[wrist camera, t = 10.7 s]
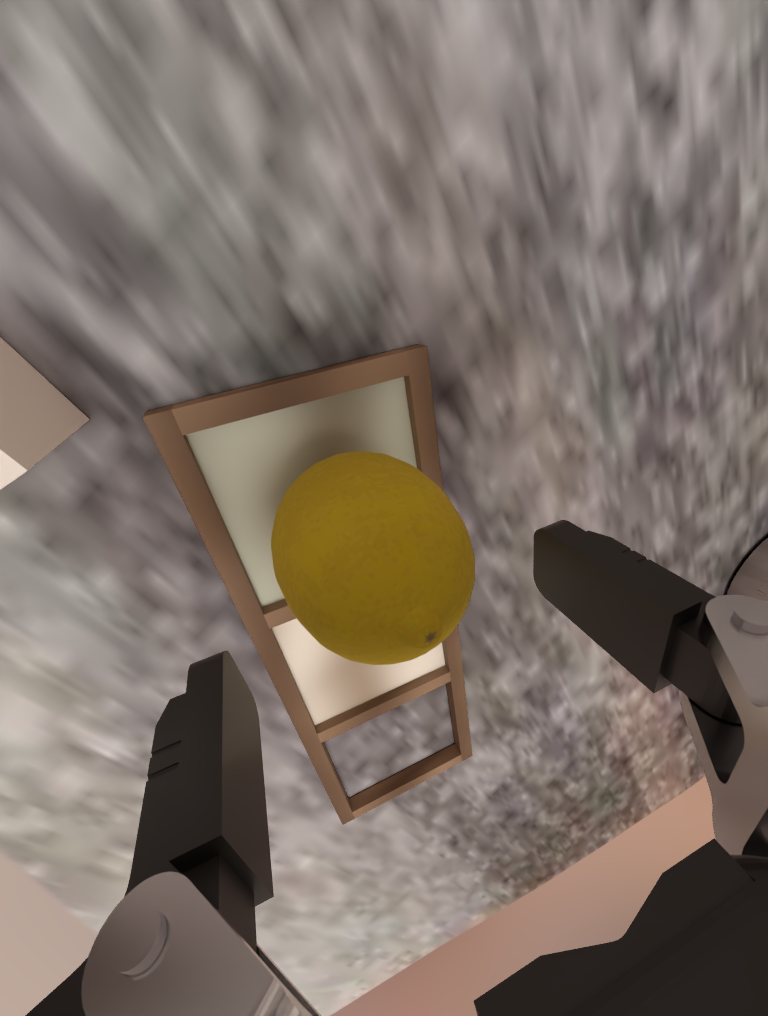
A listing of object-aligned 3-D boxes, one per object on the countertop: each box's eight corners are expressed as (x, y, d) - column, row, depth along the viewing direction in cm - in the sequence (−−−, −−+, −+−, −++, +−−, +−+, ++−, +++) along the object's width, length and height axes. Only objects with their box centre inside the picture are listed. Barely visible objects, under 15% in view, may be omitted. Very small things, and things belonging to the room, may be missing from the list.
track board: (417, 344, 14) (426, 345, 13) (466, 744, 27) (472, 755, 26) (146, 411, 12) (142, 417, 11) (339, 811, 25) (342, 824, 24)
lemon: (333, 581, 17) (414, 756, 10) (224, 507, 14) (236, 686, 7) (423, 487, 17) (568, 602, 10) (333, 392, 14) (453, 464, 7)
